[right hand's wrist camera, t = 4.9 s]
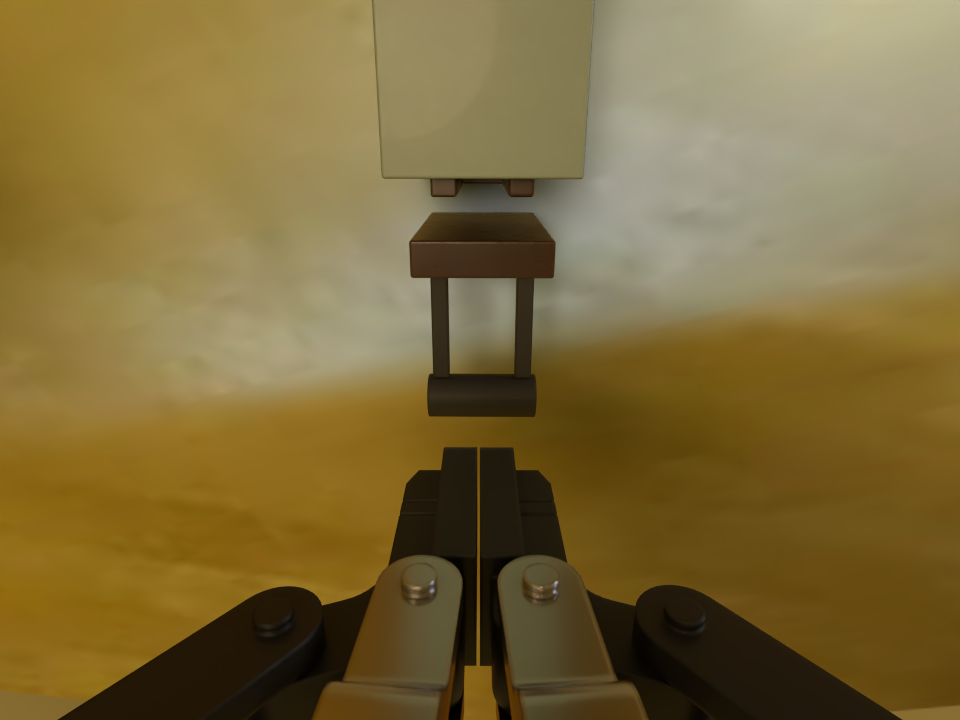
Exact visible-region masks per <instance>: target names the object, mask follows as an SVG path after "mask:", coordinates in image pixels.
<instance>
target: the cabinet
mask: <svg viewBox="0 0 960 720" xmlns="http://www.w3.org/2000/svg"><path fill="white" fill-rule="evenodd" d="M372 8H373V26H374V44H375V62H376V80H377V98H378V116H379V134H380V153H381V171H382V177H383V178H385V179H582V178H583V176H584V161H585V145H586V129H587V113H588V96H589V80H590V64H591V48H592V32H593V16H594V0H372Z"/></svg>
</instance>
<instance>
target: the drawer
mask: <svg viewBox="0 0 960 720" xmlns="http://www.w3.org/2000/svg"><path fill="white" fill-rule="evenodd" d="M534 182H535V179H431V196H433V197H455V196H456V195H457V194H458V192H459V190H460V188H461V186H462V185H463V183H497V184H503V186H504V187H505V189H506V191H507V193H508V195H509V196H511V197H532V196H533V195H534ZM555 244H556V243H555V241H554V240H553V238H552V237H551V236H550V234H549V233H548V232H547V230H546V229H545V228H544V227H543V225H542V224H541V223H540V221H539V220H538V219H537V218H536V216H535V215H534V214H533V213H445V212H433V213H431V215H430V216H429V217H428V219H427V220H426V221H425V222H424V224H423V225H422V226H421V227H420V229H419V230H418V231H417V233H416V234H415V235H414V236H413V238H412V239H411V240H410V242H409V248H410V272H411V277H412V278H431V311H432V346H433V374H430V375H429V378H428V391H427V403H428V414H429V416H460V417H534V416H535V413H536V379H535V375H534V374H531V351H532V322H533V294H534V278H553V277H554V265H555ZM448 278H516V318H515V359H514V374H449V373H450V357H449V301H448Z"/></svg>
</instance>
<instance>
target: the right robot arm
mask: <svg viewBox="0 0 960 720" xmlns="http://www.w3.org/2000/svg"><path fill="white" fill-rule="evenodd" d="M476 631H477V447H444V451H443V459H442V467H441V470H419V471H418V472H417V473H416V474H415V475H414V476H413V477H412V478H411V479H410V480H409V482H408V483H407V484H406V488H405V492H404V497H403V502H402V506H401V511H400V516H399V520H398V524H397V529H396V533H395V538H394V542H393V547H392V552H391V556H390V561H389V565H388V567H387V568H386V569H385V570H383V572H382V573H381V574H380V576H379V577H378V580H377V582H376V585H374V586H373V587H372V588H370V589H369V590H367V591H366V592H364V593H362V594H360V595H358V596H355V597H353V598H350V599H346V600H343V601H339V602H335V603H331V604H327V605H323V606H322V605H321V602H320V600H319V599H318V597H317V596H316V595H315V594H314V593H312V592H311V591H309V590H306V589H304V588H300V587H291V586H286V587H277V588H272V589H269V590H266V591H263V592H260V593H258V594H256V595H254V596H252V597H250V598H249V599H247V600H245V601H244V602H242V603H241V604H239V605H238V606H236V607H234V608H233V609H231V610H230V611H228V612H227V613H225V614H223V615H222V616H220V617H219V618H217V619H216V620H214V621H212V622H211V623H209V624H208V625H206V626H205V627H203V628H201V629H200V630H198V631H197V632H195V633H193V634H192V635H190V636H189V637H187V638H186V639H184V640H182V641H181V642H179V643H178V644H176V645H175V646H173V647H171V648H170V649H168V650H167V651H165V652H164V653H162V654H160V655H159V656H157V657H156V658H154V659H153V660H151V661H149V662H148V663H146V664H145V665H143V666H142V667H140V668H138V669H137V670H135V671H134V672H132V673H131V674H129V675H127V676H126V677H124V678H123V679H121V680H120V681H118V682H116V683H115V684H113V685H112V686H110V687H109V688H107V689H105V690H104V691H102V692H101V693H99V694H97V695H96V696H94V697H93V698H91V699H90V700H88V701H86V702H85V703H83V704H82V705H80V706H79V707H77V708H75V709H74V710H72V711H71V712H69V713H68V714H66V715H65V716H63V717H61V718H60V719H58V720H463V717H464V666H476ZM480 666H492V689H493V694H494V697H495V699H496V717H497V720H902V719H900V718H899V717H897V716H895V715H894V714H892V713H891V712H889V711H888V710H886V709H885V708H883V707H881V706H880V705H878V704H877V703H875V702H874V701H872V700H870V699H869V698H867V697H866V696H864V695H862V694H861V693H859V692H858V691H856V690H855V689H853V688H851V687H850V686H848V685H847V684H845V683H844V682H842V681H840V680H839V679H837V678H836V677H834V676H833V675H831V674H829V673H828V672H826V671H825V670H823V669H822V668H820V667H818V666H817V665H815V664H814V663H812V662H811V661H809V660H807V659H806V658H804V657H803V656H801V655H800V654H798V653H796V652H795V651H793V650H792V649H790V648H789V647H787V646H785V645H784V644H782V643H781V642H779V641H778V640H776V639H774V638H773V637H771V636H770V635H768V634H766V633H765V632H763V631H762V630H760V629H759V628H757V627H755V626H754V625H752V624H751V623H749V622H748V621H746V620H744V619H743V618H741V617H740V616H738V615H737V614H735V613H733V612H732V611H730V610H729V609H727V608H726V607H724V606H722V605H721V604H719V603H718V602H716V601H715V600H713V599H711V598H710V597H708V596H706V595H705V594H703V593H701V592H698V591H696V590H693V589H690V588H687V587H683V586H677V585H662V586H656V587H653V588H650V589H648V590H647V591H645V592H644V593H643V594H642V595H641V596H640V597H639V598H638V600H637V603H636V606H632V605H628V604H624V603H620V602H616V601H612V600H609V599H606V598H603V597H600V596H598V595H595V594H594V593H592V592H590V591H588V590H587V589H586V588H585V585H584V582H583V580H582V577H581V576H580V574H579V573H578V572H577V570H575V569H574V568H573V567H572V566H571V565H569V564H568V563H567V559H566V555H565V550H564V545H563V541H562V536H561V531H560V526H559V522H558V517H557V512H556V507H555V503H554V498H553V493H552V488H551V484H550V483H549V482H548V481H547V480H546V478H545V477H544V476H543V475H542V474H541V473H540V472H539V471H538V470H516V468H515V459H514V450H513V448H480Z"/></svg>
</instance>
